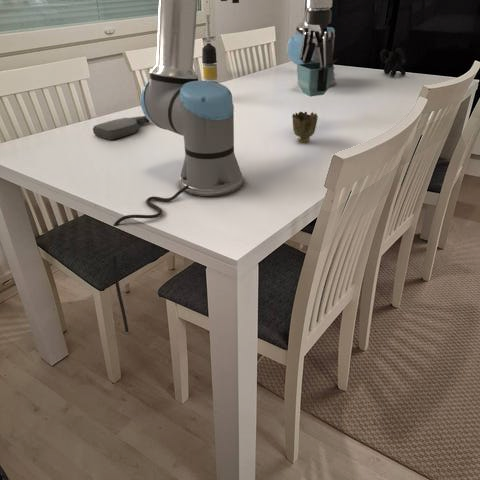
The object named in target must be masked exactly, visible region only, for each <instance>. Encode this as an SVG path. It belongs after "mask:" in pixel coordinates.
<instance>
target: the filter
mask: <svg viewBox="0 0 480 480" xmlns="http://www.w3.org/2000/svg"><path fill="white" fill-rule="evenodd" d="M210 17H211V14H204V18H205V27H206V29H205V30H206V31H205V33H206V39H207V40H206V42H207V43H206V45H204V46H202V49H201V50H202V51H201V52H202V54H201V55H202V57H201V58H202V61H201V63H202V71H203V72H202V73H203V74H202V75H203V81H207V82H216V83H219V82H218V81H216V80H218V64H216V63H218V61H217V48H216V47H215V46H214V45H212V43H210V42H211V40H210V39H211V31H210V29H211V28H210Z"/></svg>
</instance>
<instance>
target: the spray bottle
mask: <svg viewBox="0 0 480 480" xmlns="http://www.w3.org/2000/svg"><path fill="white" fill-rule="evenodd" d="M149 123H151V122H150V121H149V120H148V119H147V117H146V116H145V115H141V116H133V117H132V116H131V117H121V118H116V119H112V120H107V121H105V122H102V123H98V124H95V125H94V126H93V127H92V131H93V134H94V135H95V136H96V137H99V138H102V139H105V140H110V141H111V140H116V139H121V138H123V137H127V136H129V135H133V134H135V133H137V132H138V131H139V127H140V126H141V125H144V124H149Z"/></svg>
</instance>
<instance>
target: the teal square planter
mask: <svg viewBox="0 0 480 480" xmlns="http://www.w3.org/2000/svg"><path fill="white" fill-rule="evenodd" d="M319 68H321V67H320V62H316V63H306V64H296V71H297V72H296V73H297V81H298V85H299V88H300V90H301V92H302V93H303V94H304V95H306V96H309V97H311V98H312V97H318V96H324V95H325V94H326V92H328V90H329V88H330V87H331V86H330V83H331V80H332V76H333V73H334V71H335V66H333V68H330V69H328V77H327V86H326V91H320V92H318V91H317V90H318V75H319Z"/></svg>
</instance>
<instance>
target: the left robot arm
mask: <svg viewBox="0 0 480 480" xmlns="http://www.w3.org/2000/svg"><path fill="white" fill-rule="evenodd" d="M332 7H333V0H306V8H308V10H307V11H306V10H305V11H306V24H309V28H303V39H302V46H301V53H300V60H302V63H303V64H306V63H312V60H311V59H312V56H313V53H314V49H315V46H316V47H317V48H318V54H319V61H320V67H321V68H319V75H318V90H317V91H318V92H320V91H326V86H327V77H328V69H330V68H333V67H334V64H333V62H334V48H333V44H332V40H333V32H328V30H327V27H328V25H329V24H331V23H332V14H333V12H332V10H331V8H332ZM197 13H198V0H158V19H157V20H158V21H157V47H156V64H155V66H153V68H151V69H150V71H149V80H148V81H147V82H146V83H145V85H144V86H143V87H142V89H141V92H140V99H139V100H140V107H141V110H142V113H143V116H146V117H147V119H148V120H149V121H150V122H149V123H152V124H154V125H155V126H156V127H158V128H159V129H163V130H166V131H168V132H171V133H175V134H177V135H180V136H183V143H184V154H185V155H184V158H183V164H182V168H181V171H180V176H179V183H180V184H179V185H180V188H181V189H179V190H178V191H176V192H175V194H174V195H172V196H171V197H167V198H166V197H160V196H150V197H148V198H147V199H145V203H146V204H147V206H149V207H151V208H153V209H154V210H157V211H158V212H157V213H155V214H127V215H124V216H122V217H119V218H118V219H117V220H116V221H114V223H113V225H112V226H113V227H117V226H118V225H119V224H120V223H121V222H123V221H125V220H129V219H156V218H158V217H160V216H161V215H162V214H163V209H162V208H161V207H159V206H158V205H157V204H154V203H152V202H151V201H153V200H155V201H159V202H172V201H174V200H175V199H176V198H178V196H180V195H181V194H182V193H184V192H186V193H187V194H190V195H194V196H199V197H221V196H224V195H229V194H232V193H234V192H235V191H237V190H239V189H240V188H241V187H242V185H243V174H242V171H241V168H240V165H239V163H238V160H237V157H236V154H235V125H234V124H235V121H234V119H235V116H234V114H235V113H234V112H235V110H234V109H235V106H234V102H233V94H232V91H231V90H230V89H229V87H227V86H226V85H224V84H222V83H220V82H218V83H216V82H217V81H215V82H207V81H208V80H199V75H198V73H197V72H196V71H195V69H194V57H195V41H196V30H197V29H196V28H197V16H198V15H197ZM307 35H308V36H307ZM303 55H304V56H303ZM329 63H330V64H329ZM326 92H327V91H326ZM112 268H113V276H114V284H115V289H116V294H117V299H118V303H119V307H120V312H121V316H122V320H123V325H124V331H125V333H128V332H129V326H128V320H127V315H126V310H125V307H124V306H125V305H124V302H123V298H122V293H121V287H120V283H119V277H118V266H117V256H116V255H112Z"/></svg>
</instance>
